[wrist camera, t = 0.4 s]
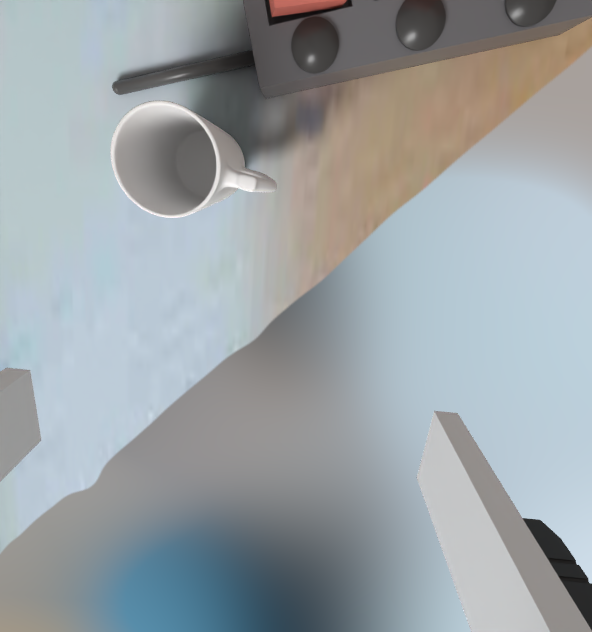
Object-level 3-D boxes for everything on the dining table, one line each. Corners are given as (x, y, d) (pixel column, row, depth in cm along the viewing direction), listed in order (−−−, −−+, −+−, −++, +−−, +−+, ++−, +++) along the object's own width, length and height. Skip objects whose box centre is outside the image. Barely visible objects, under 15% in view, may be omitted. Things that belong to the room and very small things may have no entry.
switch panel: (90, 7, 31) (56, -20, 27) (564, -111, 28) (611, -163, 24) (127, 128, 34) (101, 122, 30) (559, 34, 31) (599, 12, 27)
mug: (168, 192, 36) (105, 201, 25) (180, 114, 34) (116, 85, 23) (273, 221, 37) (258, 243, 26) (291, 146, 35) (283, 134, 23)
